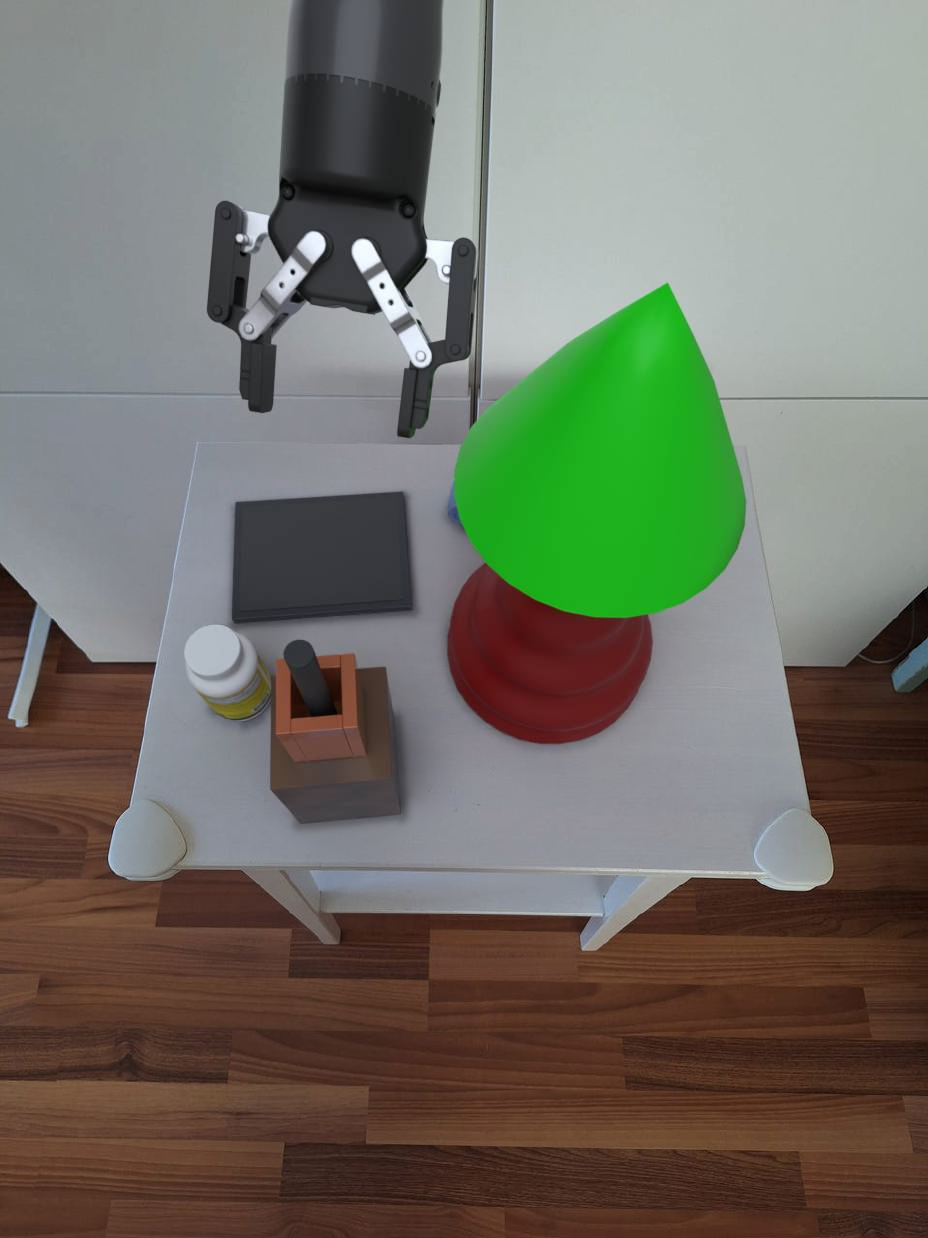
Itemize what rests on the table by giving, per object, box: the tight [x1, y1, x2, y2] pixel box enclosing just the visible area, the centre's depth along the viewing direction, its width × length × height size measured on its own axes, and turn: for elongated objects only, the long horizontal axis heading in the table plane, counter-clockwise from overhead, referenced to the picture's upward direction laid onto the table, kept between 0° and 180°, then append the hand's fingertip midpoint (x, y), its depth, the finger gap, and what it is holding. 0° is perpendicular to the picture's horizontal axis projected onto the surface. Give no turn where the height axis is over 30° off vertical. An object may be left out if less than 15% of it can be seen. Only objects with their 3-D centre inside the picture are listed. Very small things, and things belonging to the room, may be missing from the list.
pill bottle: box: [183, 624, 272, 723], centre depth 69 cm, size 6×6×11 cm
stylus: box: [283, 638, 338, 717], centre depth 52 cm, size 2×2×14 cm
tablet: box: [231, 491, 413, 624], centre depth 80 cm, size 18×14×1 cm
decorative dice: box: [447, 481, 463, 526], centre depth 82 cm, size 4×4×4 cm
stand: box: [269, 666, 401, 825], centre depth 65 cm, size 9×9×14 cm
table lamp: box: [446, 282, 747, 745], centre depth 57 cm, size 20×20×45 cm
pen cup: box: [275, 652, 367, 763], centre depth 55 cm, size 5×5×8 cm
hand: (333, 423), depth 44 cm, fingers open, 8 cm apart
